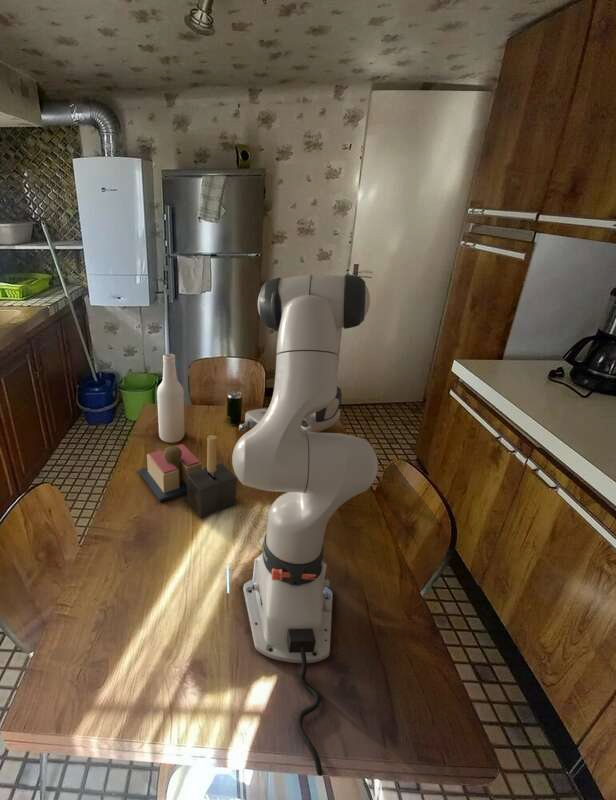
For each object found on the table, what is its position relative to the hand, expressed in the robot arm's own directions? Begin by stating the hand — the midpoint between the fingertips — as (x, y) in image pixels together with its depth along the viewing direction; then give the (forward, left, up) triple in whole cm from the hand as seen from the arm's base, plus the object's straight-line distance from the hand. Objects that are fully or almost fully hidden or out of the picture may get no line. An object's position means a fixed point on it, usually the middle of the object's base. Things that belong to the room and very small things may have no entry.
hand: (249, 436), depth 117 cm
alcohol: (+27, +27, -18) cm, 42 cm away
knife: (-7, +10, -18) cm, 21 cm away
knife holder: (-7, +10, -18) cm, 21 cm away
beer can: (+40, +6, -18) cm, 44 cm away
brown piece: (+2, +22, -18) cm, 28 cm away
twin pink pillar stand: (+3, +22, -18) cm, 28 cm away
